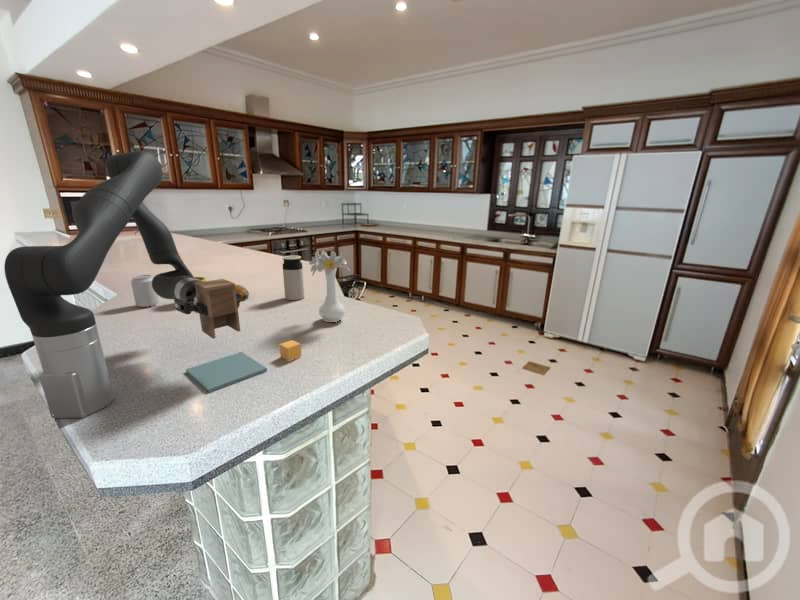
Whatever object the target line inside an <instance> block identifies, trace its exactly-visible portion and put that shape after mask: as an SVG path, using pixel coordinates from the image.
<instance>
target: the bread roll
mask: <svg viewBox="0 0 800 600" xmlns="http://www.w3.org/2000/svg"><path fill="white" fill-rule="evenodd" d="M235 291H236V292H237V293H239V300H240V302H242V301H246V300H248V298H249V296H250V295H249V293H250V292H249V291H248V289H247V288H246V287H245V286H243V285H242V284H237V283H236V284H235Z"/></svg>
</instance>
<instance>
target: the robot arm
mask: <svg viewBox="0 0 800 600" xmlns="http://www.w3.org/2000/svg"><path fill="white" fill-rule="evenodd" d="M105 165H106V166H105V167H106V171H107V173H108V176H109V179H106V180H105V181H102V182H100V183H98V184H96V185H95V186H93V187H91V188H90V189H88V190H87V191H86V192H85V193H84V194H83V195H82V196H81V197H80V199H78V200H77V202H76V203H75V204H74V205H73V209H72V213H71V215H72V220H73V222H74V225H75V227H76V228H77V231H78V234H76V237H74V239H73V240H72V241H70V242H69V243H67V244H63V245H35V246H34V245H32V246H31V245H29V246H25V245H24V246H19V247H16V248H14V249H12V250H10V251H9V253H7V255H6V256H5V257H6V258H5V260H4V276H5V279H6V283H7V286H8V288H9V290H10V293H11V296H12V298H13V300H14V303H15V306H16V308H17V311H18V314H19V316H20V319H21V320H22V321H23V323H24V324H25V325H26V326H27V327H28V328H29V331H30V333H31V336H32V340H33V343H34V347H35V350H36V354H37V357H38V358H39V363H40V366H41V368H42V369H41V370H42V373H40V374H39V376H38V378H39V381H40V384H41V389H42V390H43V393H44V396H45V400H46V403H47V406H48V410H49V413H50V416H51V418H52V419H74V418H75V419H80V418H86V417H88V415H90V414H93V413H96V412H99V410H102V409H104V408H105V406H106V407H107V406H109V405H110V404H112V402H113V401H114V399H115V394H114V392H113V391H114V390H113V387H112V382H111V380H110V379H111V378H110V375H109V371H108V367H107V362H106V359H105V354H104V350H103V346H102V343H101V338H100V334H99V329H98V326H97V323H96V318H95V314H94V313H93V311H92V310H91V309H90V308H87V307H83V306H80V305H78V304H74V303H72V302H70V301H68V300H66V299H64V298H63V297H62V296H72V295H78V294H83V293H84V292H85V291H87V290H88V289H90V287H92V284H93V283H94V281H95V280H96V279H97V278H96V277H97V276H98V274H99V272H100V270H101V268H102V265H103V264H104V262H105V259H106V258H107V256H108V253H109V251H110V249H111V248H112V246H113V244H114V243H115V242H116V240H117V238H118V237H119V235H120V234H121V233H122V231H123V230H124V229H125V228H126V226H127V225H128V223H129V222H130V221H131V219H132V220H133V222H134V223H135V225H136V228H137V229H138V231H139V234H140V237H141V238H142V241H143V244H144V246H145V249H146V251H147V254H148V257H149V260H150V261H151V263H152V264H153V265H156V266H157V265H170V266H172V268H174V269H173V270H169V271H166V272H161V273H158V274H156V275H155V276H154V277H152V278H153V279H152V288H153V290H154V291H155V293H156V294H157V295H158V297H160V298H162V299H166V300H173V303H174V308H175V311H178V312H179V313H182V314H184V315H190V314H191V313H192V312H194V314H199V315H200V314H203V315H204V316H205V315H208V311H207V306H205V305H204V304H202V303H199V301H197V295H196V289H195V283H199V282H203V281H201V280H198V279H194V277H195V276H194V275H193V274H192V273H193V272H191V271H190V270H189V269H188V267H187V265H186V264H185V263H184V261H183V259H182V257H181V256H180V254H179V252H178V250H177V246H176V244H175V243H176V242H175V241H174V238H173V235H172V233H171V232H170V229H169V228H168V227H167V225H166V224H165V223H164V222H163V221H162V220H160V219H159V218H158V217H157V216H156V215H155V214H154V213H153V212H152V211H151V210H150V209H149V208H148V207H147V206H146V205H145V204H144V202H143V201H144V200H145V199H146V198H147V197H148V195H149V194H151V192H152V191H154V190H155V189H156V188H157V187H159V184H161V182H162V179H163V168H162V164H161V162H160V160H159V159H158V158H157V156H155V155H154V154H153V153H151V152H149V151H145V150H133V151H132V150H131V151H128V152H122V153H118V154H112V155H109V156H108V157H107V159H106V161H105ZM236 299H237V307H238V309H239V307H240V303H241V301H240V300H239V293H237V292H236ZM52 414H53V415H54V416H53V415H52Z"/></svg>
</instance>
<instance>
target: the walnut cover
mask: <svg viewBox="0 0 800 600" xmlns="http://www.w3.org/2000/svg"><path fill="white" fill-rule="evenodd" d="M195 289H196V295H197V301H199V303H202V304H204V305H205V306H207V311H208V315H205V316H204V315H203V314H199V318H200V319H199V321H200V327H201V332H203V333H204V334H206V335H207V336H208V337H210V338H211V339H216V329H219V328H224V327H229V328H231V329H233V330H234V331H236V332H241V327H240V326H241V325H240V316H239V308H238V307H237V299H236V291H235V282H232V281H230V280H227V279H225V278H218V279H213V280H206V281H205V282H199V283H195Z"/></svg>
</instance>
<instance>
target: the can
mask: <svg viewBox="0 0 800 600" xmlns="http://www.w3.org/2000/svg"><path fill="white" fill-rule="evenodd" d="M153 278H154V277H153V275H152V274H139V275H134V276H132V279H131V281H130V283H131V288H132V293H133V296H134V297H133V298H134V304H135V306H137V307H138V308H140V307H148V308H150V307H149V306H153V307H155V306H154V305H156V304H157V305H158V304H160V303H159V302H160V300H159V295H157V294H156V293H155V291H154V290H153V288H152V279H153ZM157 305H156V306H157Z"/></svg>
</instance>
